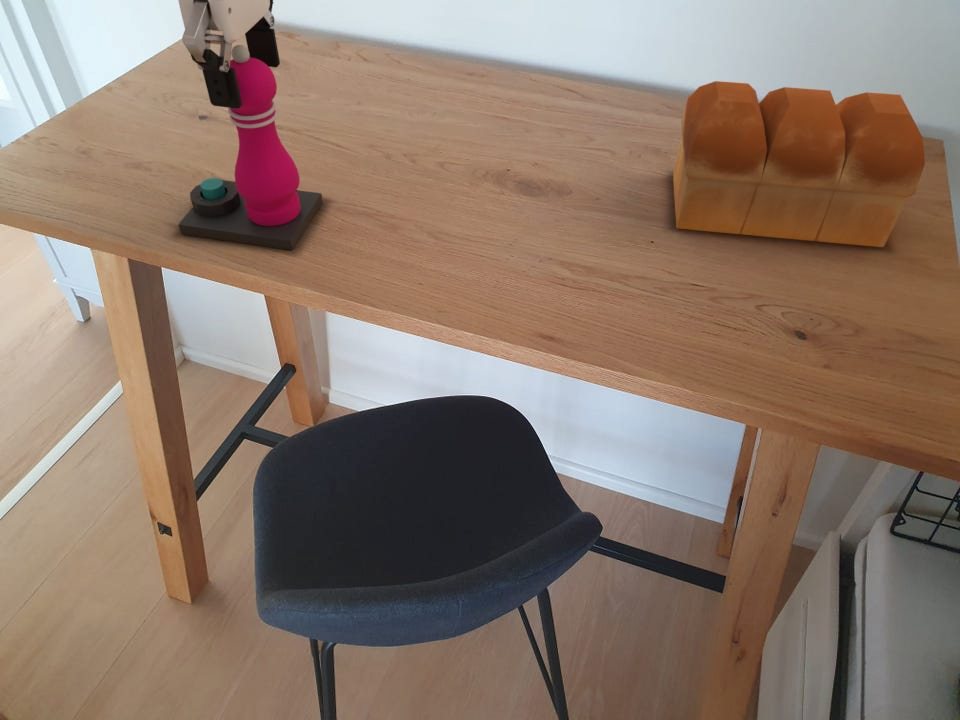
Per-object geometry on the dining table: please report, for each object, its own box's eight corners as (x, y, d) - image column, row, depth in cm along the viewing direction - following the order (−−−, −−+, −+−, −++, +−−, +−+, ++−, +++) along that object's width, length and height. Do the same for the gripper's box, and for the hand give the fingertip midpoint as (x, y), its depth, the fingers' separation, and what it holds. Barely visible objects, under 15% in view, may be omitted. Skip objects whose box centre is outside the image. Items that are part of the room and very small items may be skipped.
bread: (673, 229, 92) (699, 115, 82) (669, 174, 101) (693, 64, 90) (888, 249, 90) (943, 134, 79) (865, 190, 99) (913, 80, 88)
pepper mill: (271, 188, 95) (237, 25, 81) (317, 206, 93) (289, 40, 78) (230, 217, 91) (186, 50, 76) (277, 236, 88) (240, 67, 74)
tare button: (199, 199, 91) (196, 188, 90) (209, 187, 93) (206, 176, 92) (219, 202, 91) (216, 191, 90) (229, 190, 93) (226, 179, 91)
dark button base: (179, 233, 91) (172, 212, 89) (217, 188, 98) (211, 167, 95) (292, 250, 89) (288, 229, 86) (323, 202, 96) (319, 181, 93)
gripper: (212, -128, 75) (248, 47, 87) (117, -75, 63) (174, 120, 75) (285, -123, 74) (311, 54, 86) (202, -67, 62) (245, 129, 74)
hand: (247, 84), depth 80 cm, fingers open, 9 cm apart
